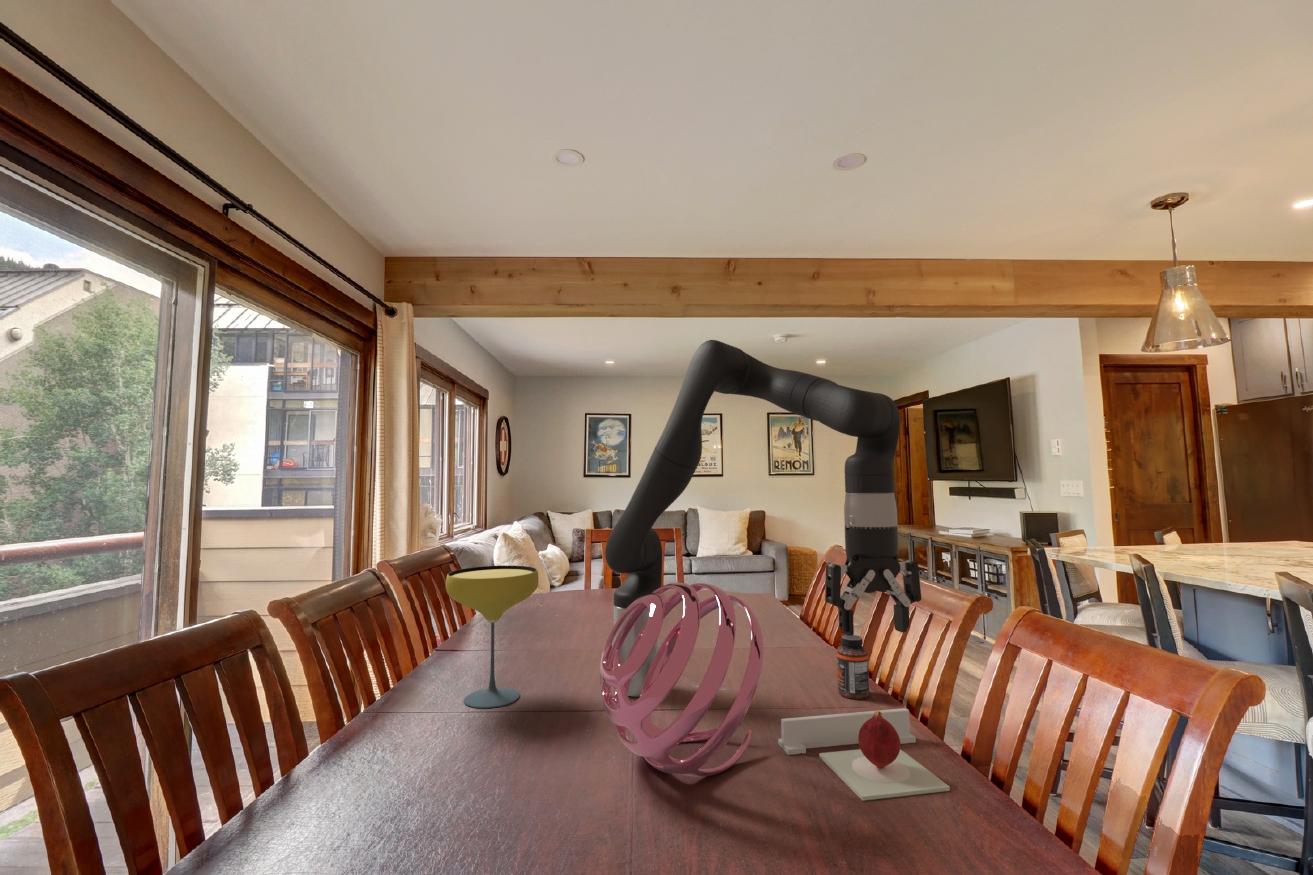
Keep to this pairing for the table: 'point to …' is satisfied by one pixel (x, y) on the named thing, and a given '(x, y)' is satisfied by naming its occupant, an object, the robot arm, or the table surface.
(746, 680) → the spiral basket
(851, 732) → the low fence
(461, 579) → the cocktail glass
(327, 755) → the table surface
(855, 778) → the mat
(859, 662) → the supplement bottle
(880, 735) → the onion
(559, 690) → the table surface
